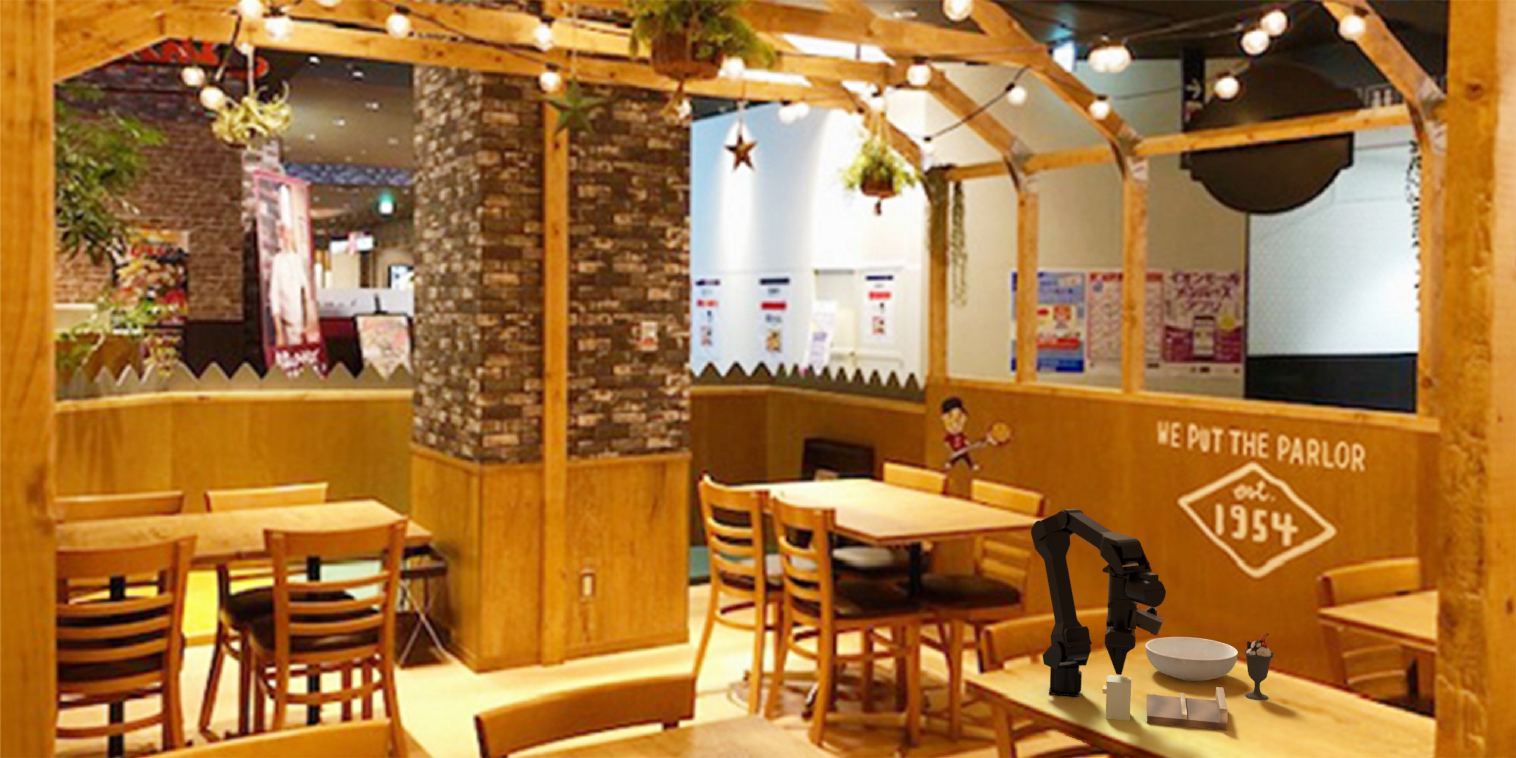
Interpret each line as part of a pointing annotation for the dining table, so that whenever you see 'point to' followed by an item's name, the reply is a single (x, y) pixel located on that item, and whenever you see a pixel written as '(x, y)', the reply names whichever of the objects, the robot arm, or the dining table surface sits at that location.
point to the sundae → (1258, 665)
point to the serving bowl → (1191, 657)
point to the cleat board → (1188, 711)
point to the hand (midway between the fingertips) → (1119, 668)
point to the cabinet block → (1118, 697)
